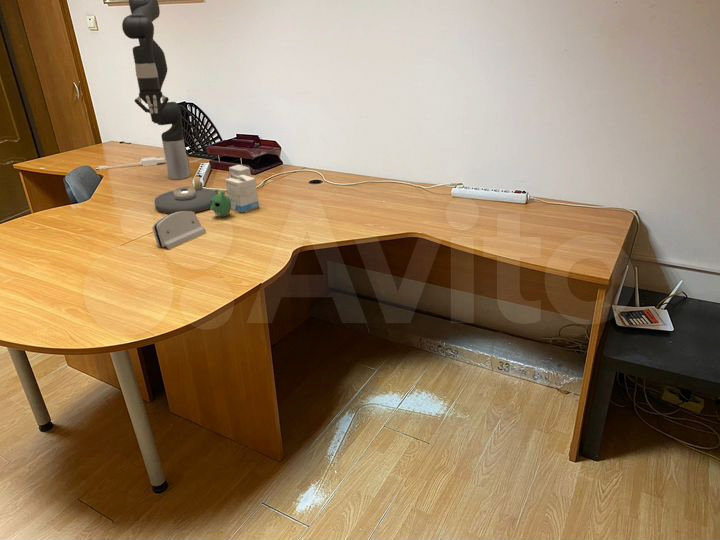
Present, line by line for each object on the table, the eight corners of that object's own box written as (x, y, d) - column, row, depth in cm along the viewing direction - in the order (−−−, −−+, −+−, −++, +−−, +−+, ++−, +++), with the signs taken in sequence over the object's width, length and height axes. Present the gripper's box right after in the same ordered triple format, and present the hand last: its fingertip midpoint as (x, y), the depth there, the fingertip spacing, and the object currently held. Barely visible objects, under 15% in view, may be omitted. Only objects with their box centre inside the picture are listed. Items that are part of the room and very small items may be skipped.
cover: (198, 194, 201) (197, 186, 199) (192, 200, 194) (191, 192, 192) (178, 194, 201) (177, 186, 200) (171, 200, 194) (170, 193, 192)
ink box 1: (231, 194, 210) (228, 166, 205) (241, 192, 213) (238, 164, 208) (243, 199, 205) (240, 170, 199) (253, 196, 208) (250, 167, 203)
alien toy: (207, 217, 186) (203, 190, 181) (225, 211, 191) (222, 186, 187) (218, 221, 182) (214, 194, 177) (236, 215, 187) (233, 189, 182)
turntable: (225, 193, 210) (222, 175, 206) (211, 213, 188) (208, 193, 185) (167, 194, 209) (163, 176, 206) (146, 214, 188) (142, 194, 184)
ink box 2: (259, 207, 195) (256, 173, 189) (241, 213, 189) (237, 178, 183) (246, 203, 200) (242, 169, 194) (228, 208, 194) (223, 174, 189)
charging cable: (97, 170, 251) (95, 164, 249) (165, 161, 261) (164, 155, 259) (96, 173, 247) (94, 166, 245) (165, 164, 256) (164, 157, 255)
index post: (201, 192, 213) (199, 182, 211) (204, 193, 212) (202, 182, 210) (198, 193, 211) (197, 183, 209) (201, 194, 211) (200, 183, 209)
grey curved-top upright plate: (168, 250, 159) (155, 220, 156) (159, 252, 162) (146, 222, 159) (207, 232, 172) (196, 204, 169) (199, 234, 175) (187, 207, 172)
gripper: (165, 74, 196) (173, 120, 204) (129, 76, 192) (138, 122, 200) (166, 76, 190) (173, 123, 198) (128, 77, 186) (137, 126, 194)
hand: (156, 123), depth 199 cm, fingers closed
